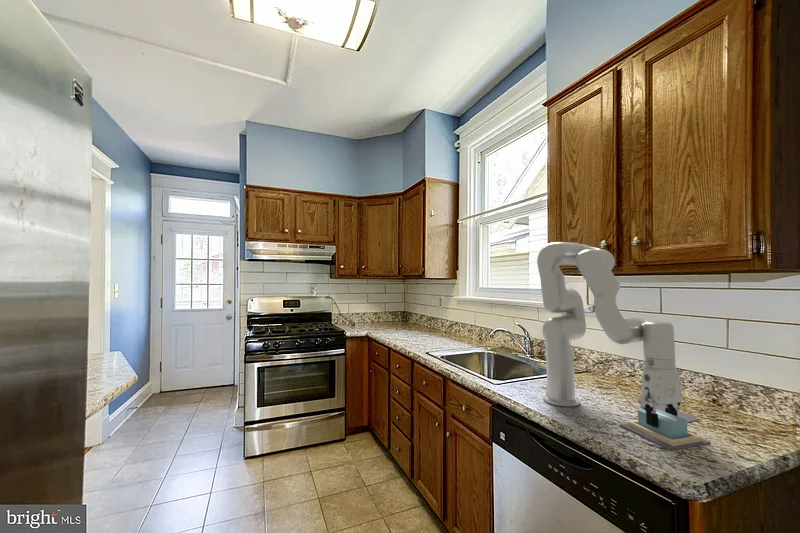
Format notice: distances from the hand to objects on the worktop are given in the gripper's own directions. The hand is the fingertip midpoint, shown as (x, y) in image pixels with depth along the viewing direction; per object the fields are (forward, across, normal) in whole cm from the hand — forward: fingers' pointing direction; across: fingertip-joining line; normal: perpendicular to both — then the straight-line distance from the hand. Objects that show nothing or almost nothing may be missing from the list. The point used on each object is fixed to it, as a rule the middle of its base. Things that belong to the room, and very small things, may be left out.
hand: (662, 423), depth 102 cm
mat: (+3, 0, 0) cm, 3 cm away
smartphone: (+4, +17, +12) cm, 21 cm away
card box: (+2, 0, 0) cm, 2 cm away
